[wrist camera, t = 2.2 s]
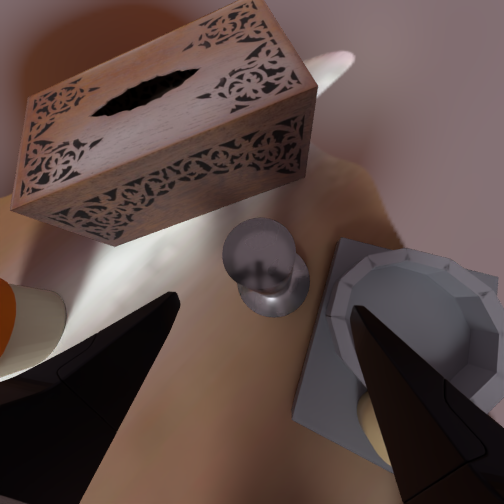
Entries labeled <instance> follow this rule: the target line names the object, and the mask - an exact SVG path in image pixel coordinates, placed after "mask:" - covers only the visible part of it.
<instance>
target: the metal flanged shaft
mask: <svg viewBox="0 0 504 504" xmlns="http://www.w3.org/2000/svg"><path fill="white" fill-rule="evenodd" d="M222 257H223V264H224V267H225V269H226V271H227V273H228V274H229V276H230V277H231V278H232V279H233V280H234V281H235V282H237V285H238V290H239V293H240V296H241V298H242V300H243V301H244V303H245V304H246V305H247V306H248V307H249V308H250V309H251V310H253V311H254V312H256V313H258V314H260V315H263V316H266V317H281V316H285V315H288V314H290V313H292V312H293V311H295V310H296V309H297V308H298V307H299V306H300V305H301V304H302V303H303V302H304V300H305V298H306V296H307V294H308V291H309V285H310V278H309V272H308V269H307V267H306V264H305V263H304V261H303V260H302V258H301V257H300V256H299V255H298V254H297V253H296V248H295V243H294V240H293V237H292V235H291V234H290V232H289V231H288V230H287V229H286V228H285V227H284V226H283V225H282V224H280V223H279V222H277V221H275V220H272V219H268V218H253V219H249V220H246V221H244V222H242V223H240V224H239V225H237V226H236V227H235V228H234V229H233V230H232V231H231V232H230V233H229V235H228V237H227V238H226V240H225V243H224V246H223V252H222Z"/></svg>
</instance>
